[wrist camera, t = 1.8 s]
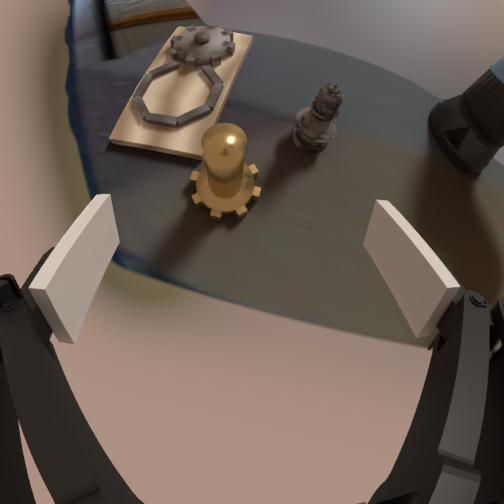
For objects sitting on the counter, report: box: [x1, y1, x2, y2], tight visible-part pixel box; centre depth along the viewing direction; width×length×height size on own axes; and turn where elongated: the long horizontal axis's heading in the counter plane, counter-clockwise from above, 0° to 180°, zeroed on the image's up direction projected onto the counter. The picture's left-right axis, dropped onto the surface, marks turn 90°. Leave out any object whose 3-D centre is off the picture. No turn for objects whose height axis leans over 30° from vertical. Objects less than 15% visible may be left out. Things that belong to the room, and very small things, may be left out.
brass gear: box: [190, 123, 261, 221], centre depth 30 cm, size 9×9×12 cm
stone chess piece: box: [292, 84, 343, 153], centre depth 32 cm, size 6×6×12 cm
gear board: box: [109, 24, 253, 161], centre depth 36 cm, size 14×26×4 cm, turn 165°
